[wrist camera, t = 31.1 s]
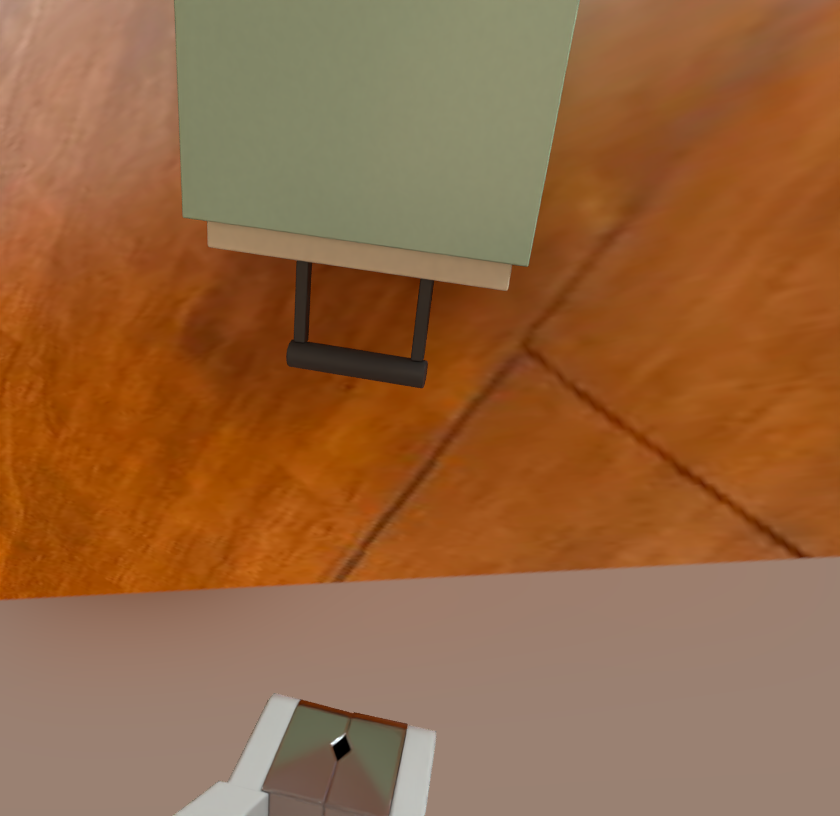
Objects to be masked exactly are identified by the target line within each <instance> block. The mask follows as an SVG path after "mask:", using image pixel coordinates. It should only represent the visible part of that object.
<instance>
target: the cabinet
mask: <svg viewBox="0 0 840 816" xmlns="http://www.w3.org/2000/svg"><path fill="white" fill-rule="evenodd" d="M579 1H580V0H174V9H175V34H176V60H177V85H178V111H179V136H180V161H181V187H182V212H183V217H184V218H189V219H196V220H203V221H210V222H217V223H224V224H231V225H238V226H245V227H252V228H259V229H266V230H273V231H280V232H287V233H294V234H301V235H308V236H315V237H322V238H329V239H336V240H343V241H350V242H357V243H364V244H371V245H378V246H385V247H392V248H399V249H406V250H413V251H420V252H427V253H434V254H441V255H448V256H455V257H462V258H469V259H476V260H483V261H490V262H497V263H504V264H511V265H518V266H525V267H527V266H528V265H529V260H530V255H531V249H532V244H533V239H534V234H535V229H536V223H537V218H538V213H539V208H540V203H541V198H542V192H543V187H544V182H545V177H546V172H547V166H548V161H549V156H550V151H551V146H552V141H553V135H554V130H555V125H556V120H557V115H558V109H559V104H560V99H561V94H562V89H563V84H564V78H565V73H566V68H567V63H568V58H569V52H570V47H571V42H572V37H573V32H574V26H575V21H576V16H577V11H578V6H579Z"/></svg>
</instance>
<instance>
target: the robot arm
mask: <svg viewBox="0 0 840 816" xmlns="http://www.w3.org/2000/svg"><path fill="white" fill-rule="evenodd" d="M407 726H408V725H407V724H406V723H401V722H397V721H392V720H387V719H383V718H378V717H374V716H369V715H364V714H360V713H355V712H354V713H350V712H347V711H343V710H339V709H335V708H331V707H328V706H324V705H319V704H316V703H312V702H308V701H304V700H301V699H297V698H293V697H289V696H285V695H281V694H277V693H274V694H273V695H272V696H271V697H270V699H269V700H268V701H267V703H266V705H265V707H264V709H263V711H262V713H261V715H260V717H259V719H258V721H257V723H256V725H255V727H254V729H253V732H252V733H251V735H250V738H249V739H248V741H247V744H246V746H245V748H244V750H243V752H242V754H241V756H240V758H239V760H238V762H237V764H236V766H235V768H234V770H233V772H232V774H231V776H230V778H229V780H228V782H223V781H218V782H217V783H215V784H214V785H213V786H211V787H210V788H209V789H207V790H206V791H205V792H203V793H202V794H201V795H199V796H198V797H197V798H195V799H194V800H193V801H192V802H190V803H189V804H187V805H186V806H185V807H184V808H182V809H181V810H180V811H178V812H177V813H176V814H174V815H173V816H425V812H426V805H427V799H428V792H429V784H430V778H431V770H432V763H433V757H434V750H435V743H436V731H433V730H428V729H424V728H419V727H414V726H410V725H409V726H408V728H407Z"/></svg>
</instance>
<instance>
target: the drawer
mask: <svg viewBox="0 0 840 816" xmlns="http://www.w3.org/2000/svg"><path fill="white" fill-rule="evenodd" d="M207 232H208V247H211V248H217V249H224V250H231V251H238V252H245V253H251V254H258V255H265V256H272V257H279V258H285V259H292V260H297V266H296V293H295V321H294V340H291V342H290V343H289V346H288V349H287V356H286V358H287V364H288V366H290V367H296V368H302V369H308V370H314V371H320V372H326V373H332V374H338V375H344V376H350V377H356V378H362V379H368V380H374V381H381V382H387V383H393V384H399V385H405V386H411V387H417V388H423V387H424V384H425V380H426V375H427V367H428V362H427V361H425V360H423V359H424V354H425V347H426V339H427V331H428V324H429V316H430V308H431V301H432V293H433V285H434V280H435V281H442V282H449V283H455V284H462V285H469V286H476V287H483V288H489V289H496V290H503V291H507V290H508V286H509V280H510V275H511V269H512V265H511V264H504V263H497V262H490V261H483V260H476V259H469V258H462V257H455V256H448V255H441V254H434V253H427V252H420V251H413V250H406V249H399V248H392V247H385V246H378V245H371V244H364V243H357V242H350V241H343V240H336V239H329V238H322V237H315V236H308V235H301V234H294V233H287V232H280V231H273V230H266V229H259V228H252V227H245V226H238V225H231V224H224V223H217V222H210V221H207ZM312 262H313V263H319V264H326V265H333V266H340V267H347V268H353V269H360V270H367V271H374V272H381V273H387V274H394V275H401V276H408V277H415V278H421V279H420V287H419V295H418V304H417V312H416V320H415V328H414V337H413V345H412V353H411V358H406V357H400V356H394V355H388V354H381V353H375V352H369V351H363V350H356V349H350V348H344V347H338V346H331V345H325V344H319V343H313V342H307V341H308V335H309V314H310V292H311V271H312Z"/></svg>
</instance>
